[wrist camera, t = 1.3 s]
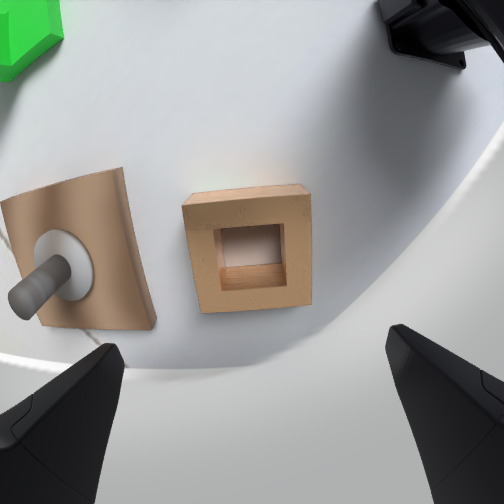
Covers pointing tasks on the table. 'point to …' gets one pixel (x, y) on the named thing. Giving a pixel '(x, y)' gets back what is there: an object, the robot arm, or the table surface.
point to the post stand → (78, 255)
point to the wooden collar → (256, 276)
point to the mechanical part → (26, 33)
